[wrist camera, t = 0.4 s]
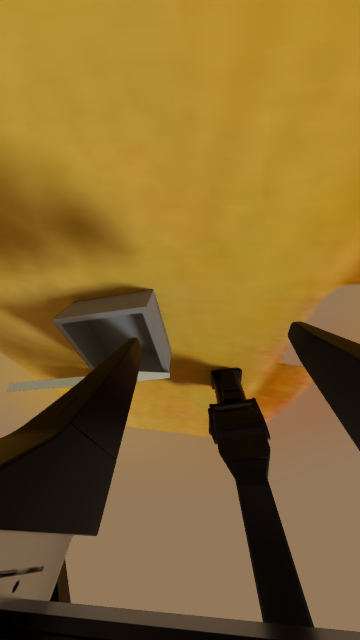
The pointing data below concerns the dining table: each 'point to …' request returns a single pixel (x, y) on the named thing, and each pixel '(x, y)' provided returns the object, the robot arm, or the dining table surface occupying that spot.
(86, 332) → the box
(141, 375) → the lid
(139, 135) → the dining table surface
